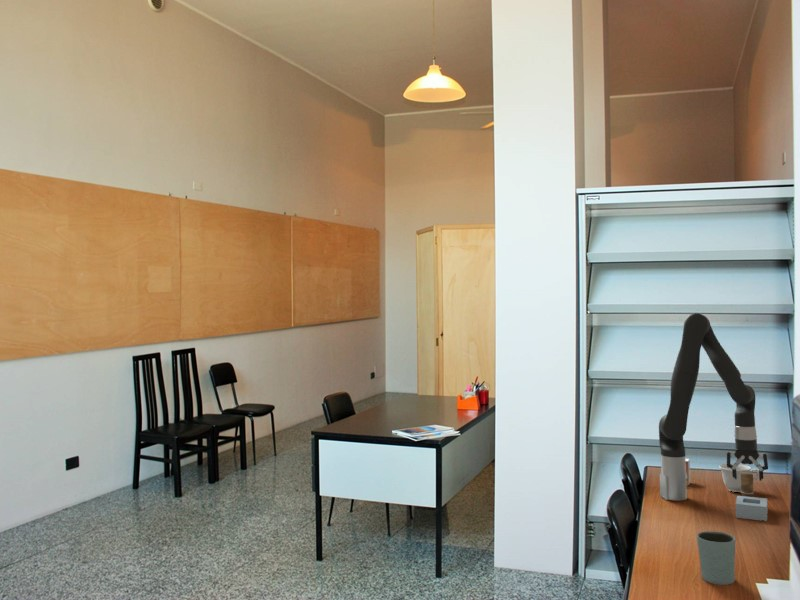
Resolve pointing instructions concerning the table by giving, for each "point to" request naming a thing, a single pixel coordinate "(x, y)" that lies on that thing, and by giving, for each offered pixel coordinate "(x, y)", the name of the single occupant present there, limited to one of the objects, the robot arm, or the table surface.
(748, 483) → the walnut peg
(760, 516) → the hole block
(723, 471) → the teacup
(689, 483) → the small box
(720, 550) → the grey-green cup
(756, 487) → the table surface
